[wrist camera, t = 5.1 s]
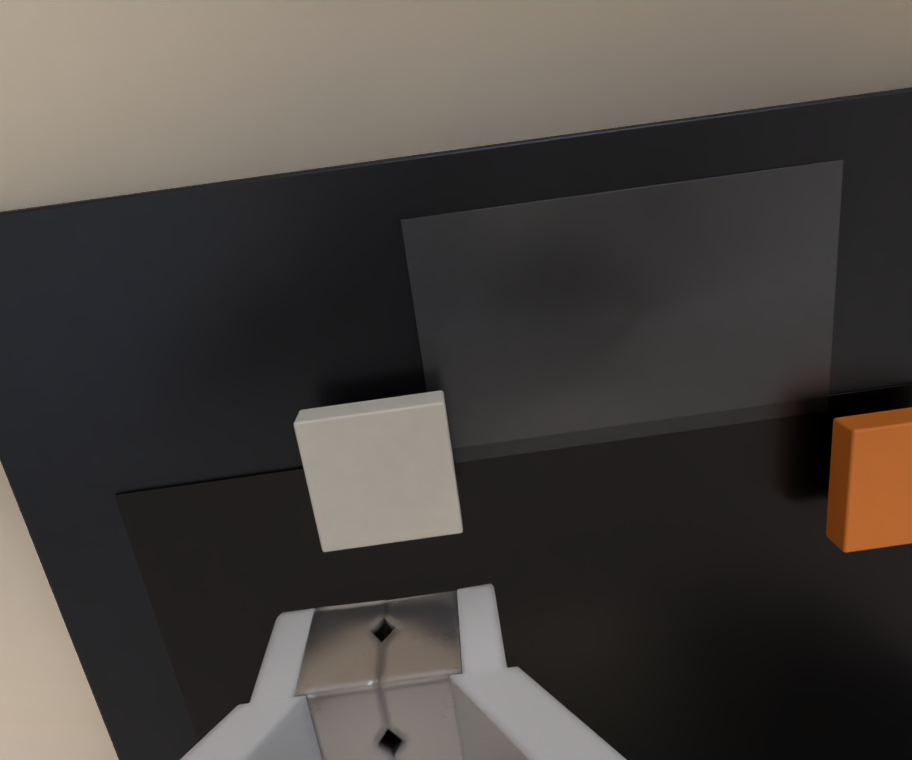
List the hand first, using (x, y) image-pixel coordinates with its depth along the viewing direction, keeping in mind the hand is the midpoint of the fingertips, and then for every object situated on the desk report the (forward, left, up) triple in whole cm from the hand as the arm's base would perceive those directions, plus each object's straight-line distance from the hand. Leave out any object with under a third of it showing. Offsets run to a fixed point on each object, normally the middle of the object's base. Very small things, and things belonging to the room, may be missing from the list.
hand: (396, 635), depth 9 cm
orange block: (+2, +11, -7) cm, 14 cm away
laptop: (+4, +5, -9) cm, 11 cm away
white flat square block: (0, -1, -7) cm, 7 cm away
